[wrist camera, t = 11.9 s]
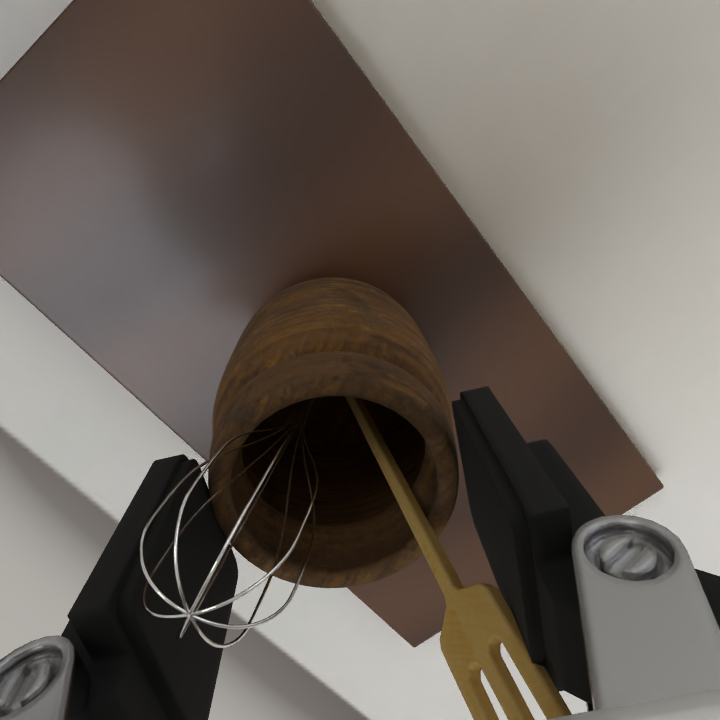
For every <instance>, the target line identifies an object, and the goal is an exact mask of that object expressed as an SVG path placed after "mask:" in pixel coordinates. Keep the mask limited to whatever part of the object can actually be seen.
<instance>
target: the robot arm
mask: <svg viewBox="0 0 720 720" xmlns="http://www.w3.org/2000/svg"><path fill="white" fill-rule="evenodd" d="M452 409H453V415H454V421H455V426H456V432H457V438H458V443H459V449H460V454H461V460H462V466H463V471H464V477H465V483H466V488H467V494H468V500H469V505H470V511H471V515H472V519H473V522H474V526H475V528H476V531H477V534H478V536H479V539H480V541H481V544H482V546H483V549H484V552H485V554H486V557H487V559H488V562H489V564H490V567H491V570H492V572H493V575H494V577H495V580H496V582H497V585H498V588H499V590H500V593H501V595H502V596H503V598H504V600H505V601H506V603H507V604H508V606H509V608H510V609H511V611H512V613H513V615H514V618H515V620H516V623H517V625H518V628H519V631H520V633H521V636H522V638H523V641H524V643H525V646H526V648H527V651H528V653H529V656H530V658H531V661H532V664H533V663H534V664H537V665H540V666H544V668H545V669H546V671H547V673H548V674H549V676H550V678H551V680H552V681H553V683H554V685H555V686H556V688H557V690H558V692H559V691H563V690H564V691H566V692H568V693H570V694H572V695H574V696H576V697H578V698H580V699H582V700H584V701H585V702H586V706H587V712H583V713H578V714H573V715H568V716H563V717H558V718H553V719H548V720H720V576H717V575H713V574H710V573H707V572H704V571H701V570H698V569H694V566H693V564H692V561H691V559H690V556H689V554H688V552H687V549H686V548H685V546H684V545H683V543H682V542H681V540H680V539H679V537H677V536H676V535H675V534H674V533H672V532H671V531H670V530H669V529H667V528H666V527H664V526H662V525H660V524H658V523H656V522H654V521H652V520H648V519H644V518H640V517H637V516H628V515H611V516H605V514H604V513H603V512H602V510H601V509H600V508H599V506H598V505H597V504H596V502H595V501H594V500H593V498H592V497H591V496H590V494H589V493H588V492H587V490H586V489H585V488H584V487H583V485H582V484H581V483H580V481H579V480H578V479H577V477H576V476H575V475H574V473H573V472H572V471H571V469H570V468H569V467H568V465H567V464H566V463H565V461H564V460H563V459H562V458H561V456H560V455H559V454H558V452H557V451H556V450H555V448H554V447H553V446H552V444H551V443H550V442H549V441H548V440H546V439H542V440H538V441H533V442H529V443H526V441H525V440H524V439H523V437H522V436H521V434H520V433H519V431H518V430H517V428H516V427H515V425H514V424H513V422H512V421H511V419H510V418H509V416H508V415H507V413H506V412H505V410H504V409H503V407H502V406H501V404H500V403H499V402H498V400H497V399H496V397H495V396H494V394H493V393H492V391H491V390H490V388H489V387H488V386H485V387H481V388H477V389H472V390H468V391H463V392H460V400H455V401H452ZM197 466H199V464H198V462H197V461H196V460H195V459H191V460H189V459H188V458H187V457H186V456H185V455H184V454H182V455H178V456H173V457H169V458H164V459H160V460H155V461H154V463H153V464H152V466H151V468H150V469H149V471H148V473H147V475H146V476H145V478H144V480H143V482H142V484H141V485H140V487H139V489H138V491H137V493H136V494H135V496H134V498H133V500H132V501H131V503H130V505H129V507H128V509H127V510H126V512H125V514H124V516H123V517H122V519H121V521H120V523H119V525H118V526H117V528H116V530H115V532H114V534H113V535H112V537H111V539H110V541H109V543H108V544H107V546H106V548H105V550H104V551H103V553H102V555H101V557H100V559H99V560H98V562H97V564H96V566H95V568H94V569H93V571H92V573H91V575H90V576H89V578H88V580H87V582H86V584H85V585H84V587H83V589H82V591H81V593H80V594H79V596H78V598H77V600H76V601H75V603H74V605H73V607H72V609H71V610H70V612H69V614H68V618H69V619H70V620H69V622H68V624H67V626H66V628H65V630H64V632H63V633H62V635H61V636H46V637H43V638H40V639H37V640H33V641H31V642H29V643H27V644H25V645H23V646H21V647H19V648H17V649H15V650H14V651H12V652H11V653H10V654H8V655H7V656H5V657H4V658H2V659H1V660H0V720H208V717H209V712H210V708H211V703H212V698H213V693H214V689H215V684H216V678H217V675H218V670H219V665H220V660H221V655H222V651H223V648H216V647H214V646H211V645H210V644H208V643H207V642H205V640H204V639H203V638H202V637H201V636H200V635H199V634H198V632H197V631H196V629H195V628H194V626H193V624H192V623H191V622H190V624H189V626H188V627H187V629H186V631H185V632H184V634H183V636H182V637H181V639H180V640H179V641H176V638H177V635H178V633H179V631H180V629H181V627H182V625H183V623H184V621H185V619H186V617H184V618H178V619H162V618H157V617H154V616H152V615H150V614H148V613H147V612H146V611H145V609H144V607H143V604H142V592H143V588H144V585H145V583H146V581H147V579H146V577H145V575H144V572H143V570H142V566H141V562H140V540H141V537H142V533H143V531H144V528H145V527H146V525H147V523H148V522H149V520H150V519H151V517H152V516H153V514H154V513H155V512H156V511H157V509H158V508H159V507H160V505H161V504H162V503H163V501H164V500H165V499H166V498H167V496H168V495H169V494H170V493H171V491H172V490H173V489H174V488H175V487H176V486H177V485H178V483H179V482H180V481H181V480H182V479H183V478H184V477H185V476H186V475H187V474H189V473H190V472H191V471H192V470H193V469H195V468H196V467H197ZM201 472H202V471H201V469H200V468H199V469H198V470H196V471H195V472H194V473H193V474H191V475H190V476H189V477H188V478H187V479H186V480H185V481H184V482H183V483H182V484H181V485H180V487H179V488H178V489H177V490H176V491H175V492H174V494H173V495H172V496H171V497H170V499H169V500H168V501H167V503H166V504H165V505H164V506H163V508H162V509H161V510H160V512H159V513H158V514H157V516H156V517H155V518H154V520H153V522H152V523H151V525H150V526H149V528H148V530H147V532H146V535H145V539H144V545H143V556H144V562H145V566H146V569H147V572H148V574H149V576H150V574H151V572H152V570H153V569H154V567H155V566H156V564H157V563H158V561H159V560H160V558H161V557H162V556H163V554H164V553H165V551H166V550H167V548H168V547H169V546H170V544H171V543H172V541H173V540H174V538H175V530H176V524H177V519H178V515H179V512H180V508H181V505H182V503H183V500H184V498H185V496H186V494H187V492H188V491H189V489H190V488H191V486H192V484H193V483H194V481H195V480H196V479H197V477H198V476H199V475H200V473H201ZM209 499H210V496H209V489H208V487H207V484H206V482H205V479H204V477H203V476H202V477H201V479H200V480H199V481H198V483H197V484H196V486H195V487H194V489H193V491H192V492H191V494H190V495H189V497H188V500H187V502H186V505H185V507H184V510H183V514H182V518H181V523H180V528H179V532H180V531H181V529H182V528H183V527H184V525H185V524H186V523H187V522H188V521H189V519H190V518H191V517H192V516H193V515H194V514H195V513H196V512H197V511H198V510H199V508H200V507H201V506H202V505H203V504H205V503H206V502H207V501H208V500H209ZM226 541H227V538H226V537H225V535H224V533H223V532H222V530H221V528H220V526H219V524H218V522H217V520H216V517H215V515H214V512H213V509H212V506H211V502H209V503H208V504H207V505H206V506H205V507H204V508H203V509H202V510H201V511H200V512H199V513H198V514H197V515H196V517H195V518H194V519H193V520H192V521H191V522H190V524H189V525H188V526H187V527H186V528H185V530H184V531H183V532H182V534H181V535H180V536H179V538H178V568H179V575H180V580H181V585H182V589H183V593H184V596H185V599H186V602H187V604H188V607H189V609H191V607H192V605H193V603H194V601H195V599H196V597H197V595H198V593H199V591H200V590H201V588H202V586H203V584H204V582H205V580H206V578H207V576H208V574H209V572H210V571H211V569H212V567H213V565H214V563H215V561H216V559H217V557H218V556H219V554H220V552H221V550H222V548H223V546H224V545H225V543H226ZM229 547H230V544H229V545H228V547H227V548H226V550H225V552H224V554H223V556H222V558H221V560H220V562H219V563H218V565H217V567H216V569H215V571H214V573H213V575H214V574H215V572H216V570H217V568H218V566H219V565H220V563H221V561H222V559H223V558H224V556H225V554H226V552H227V550H228V549H229ZM213 575H212V577H213ZM212 577H211V578H210V580H209V582H210V581H211V579H212ZM151 579H152V581H153V583H154V584H155V585H156V587H157V588H158V589H159V590H160V591H161V592H162V593H163V594H164V595H165V596H166V597H167V598H168V599H170V600H171V601H172V602H174V603H175V604H176V605H178V606H180V607H181V608H183V609H185V608H184V605H183V603H182V600H181V596H180V593H179V590H178V585H177V581H176V575H175V568H174V545H173V546H172V548H171V549H170V551H169V552H168V553H167V555H166V556H165V558H164V559H163V561H162V562H161V564H160V565H159V567H158V568H157V570H156V571H155V573H154V575H153V576H152V578H151ZM237 580H238V567H237V562H236V559H235V556H234V554H233V551H232V549H231V550H230V552H229V554H228V556H227V558H226V559H225V561H224V563H223V565H222V567H221V568H220V570H219V572H218V574H217V576H216V577H215V579H214V581H213V583H212V585H211V586H210V588H209V590H208V592H207V593H206V595H205V597H204V599H203V601H202V602H201V604H200V606H199V608H198V610H202V609H206V608H209V607H212V606H215V605H217V604H219V603H222V602H224V601H226V600H228V599H230V598H232V597H234V594H235V589H236V585H237ZM209 582H208V584H209ZM208 584H207V586H208ZM207 586H206V588H207ZM206 588H205V589H206ZM204 591H205V590H204ZM203 593H204V592H203ZM202 595H203V594H202ZM199 600H200V599H199ZM145 601H146V604H147V606H148V608H149V609H150V610H151V611H153V612H154V613H158V614H162V615H178V614H183V613H182V612H180V611H178V610H176V609H175V608H173V607H172V606H171V605H169V604H168V603H167V602H165V601H164V600H163V599H162V598H161V597H160V596H159V595H158V594H157V593H156V592H155V591H154V589H153V588H152V587H151V586H150V584H148V586H147V589H146V594H145ZM198 602H199V601H198ZM197 604H198V603H197ZM232 604H233V602H231V603H229V604H227V605H225V606H222V607H220V608H217V609H215V610H212V611H209V612H206V613H203V614H198V615H197V616H199V617H201V618H204V619H206V620H210V621H213V622H216V623H222V624H227V625H228V622H229V617H230V613H231V608H232ZM198 610H197V611H198ZM195 621H196V623H197V625H198V627H199V628H200V629H201V631H202V632H203V634H204V635H205V636H206V637H207V638H208V639H210V640H211V641H213V642H215V643H217V644H224V641H225V636H226V631H227V629H226V628H221V627H215V626H212V625H209V624H205V623H202V622H200V621H198V620H195Z"/></svg>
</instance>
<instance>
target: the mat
mask: <svg viewBox="0 0 720 720" xmlns="http://www.w3.org/2000/svg"><path fill="white" fill-rule="evenodd" d="M0 276H1V277H3V278H4V279H5V280H6V281H7V282H8V283H9V284H10V285H11V286H13V287H14V288H15V289H16V290H17V291H18V292H19V293H20V294H21V295H23V296H24V297H25V298H26V299H27V300H28V301H29V302H30V303H31V304H33V305H34V306H35V307H36V308H37V309H38V310H39V311H40V312H41V313H43V314H44V315H45V316H46V317H47V318H48V319H49V320H50V321H51V322H53V323H54V324H55V325H56V326H57V327H58V328H59V329H60V330H61V331H63V332H64V333H65V334H66V335H67V336H68V337H69V338H70V339H71V340H73V341H74V342H75V343H76V344H77V345H78V346H79V347H80V348H81V349H83V350H84V351H85V352H86V353H87V354H88V355H89V356H90V357H91V358H93V359H94V360H95V361H96V362H97V363H98V364H99V365H100V366H101V367H103V368H104V369H105V370H106V371H107V372H108V373H109V374H110V375H111V376H113V377H114V378H115V379H116V380H117V381H118V382H119V383H120V384H122V385H123V386H124V387H125V388H126V389H127V390H128V391H129V392H130V393H132V394H133V395H134V396H135V397H136V398H137V399H138V400H139V401H140V402H142V403H143V404H144V405H145V406H146V407H147V408H148V409H149V410H150V411H152V412H153V413H154V414H155V415H156V416H157V417H158V418H159V419H160V420H162V421H163V422H164V423H165V424H166V425H167V426H168V427H169V428H170V429H172V430H173V431H174V432H175V433H176V434H177V435H178V436H179V437H180V438H182V439H183V440H184V441H185V442H186V443H187V444H188V445H189V446H190V447H192V448H193V449H194V450H195V451H196V452H197V453H198V454H199V455H200V456H202V457H203V458H204V459H205V460H206V461H207V460H209V455H210V448H211V443H212V439H213V435H212V416H213V408H214V402H215V397H216V394H217V390H218V387H219V384H220V381H221V378H222V376H223V373H224V371H225V368H226V366H227V363H228V361H229V359H230V357H231V355H232V353H233V351H234V349H235V346H236V344H237V342H238V340H239V338H240V337H241V335H242V333H243V331H244V329H245V328H246V326H247V325H248V323H249V321H250V320H251V319H252V317H253V316H254V315H255V314H256V312H257V311H258V310H259V309H260V308H261V307H262V306H263V305H264V304H265V303H266V302H267V301H269V300H270V299H271V298H272V297H274V296H275V295H277V294H278V293H280V292H281V291H283V290H285V289H286V288H288V287H291V286H293V285H295V284H298V283H301V282H304V281H308V280H312V279H317V278H329V277H336V278H347V279H352V280H357V281H360V282H364V283H366V284H369V285H372V286H374V287H376V288H378V289H380V290H381V291H383V292H385V293H386V294H388V295H389V296H391V297H392V298H393V299H394V300H396V301H397V302H398V303H399V304H400V305H401V306H402V307H403V308H404V309H405V310H406V311H407V312H408V313H409V314H410V316H411V317H412V318H413V320H414V321H415V323H416V324H417V325H418V327H419V329H420V330H421V332H422V334H423V336H424V337H425V339H426V341H427V343H428V345H429V347H430V349H431V351H432V353H433V355H434V357H435V359H436V361H437V363H438V365H439V367H440V369H441V372H442V374H443V377H444V379H445V382H446V385H447V388H448V392H449V395H450V400H451V405H452V401H455V400H460V392H463V391H468V390H472V389H477V388H481V387H485V386H488V387H489V388H490V390H491V391H492V393H493V394H494V396H495V397H496V399H497V400H498V402H499V403H500V404H501V406H502V407H503V409H504V410H505V412H506V413H507V415H508V416H509V418H510V419H511V421H512V422H513V424H514V425H515V427H516V428H517V430H518V431H519V433H520V434H521V436H522V437H523V439H524V440H525V441H526V443H529V442H533V441H538V440H542V439H546V440H548V441H549V442H550V443H551V444H552V446H553V447H554V448H555V450H556V451H557V452H558V454H559V455H560V456H561V458H562V459H563V460H564V461H565V463H566V464H567V465H568V467H569V468H570V469H571V471H572V472H573V473H574V475H575V476H576V477H577V479H578V480H579V481H580V483H581V484H582V485H583V487H584V488H585V489H586V490H587V492H588V493H589V494H590V496H591V497H592V498H593V500H594V501H595V502H596V504H597V505H598V506H599V508H600V509H601V510H602V512H603V513H604V514H605V516H611V515H622V514H623V513H625V512H627V511H628V510H630V509H631V508H633V507H634V506H636V505H637V504H639V503H641V502H642V501H644V500H645V499H647V498H648V497H650V496H651V495H653V494H655V493H656V492H658V491H659V490H661V489H662V488H663V487H664V486H663V484H662V483H661V481H660V480H659V479H658V477H657V476H656V474H655V473H654V472H653V470H652V469H651V468H650V466H649V465H648V463H647V462H646V461H645V459H644V458H643V457H642V455H641V454H640V452H639V451H638V450H637V448H636V447H635V446H634V444H633V443H632V441H631V440H630V439H629V437H628V436H627V435H626V433H625V432H624V430H623V429H622V428H621V426H620V425H619V424H618V422H617V421H616V419H615V418H614V417H613V415H612V414H611V413H610V411H609V410H608V408H607V407H606V406H605V404H604V403H603V402H602V400H601V399H600V397H599V396H598V395H597V393H596V392H595V391H594V389H593V388H592V386H591V385H590V384H589V382H588V381H587V380H586V378H585V377H584V375H583V374H582V373H581V371H580V370H579V369H578V367H577V366H576V364H575V363H574V362H573V360H572V359H571V358H570V356H569V355H568V353H567V352H566V351H565V349H564V348H563V347H562V345H561V344H560V342H559V341H558V340H557V338H556V337H555V336H554V334H553V333H552V331H551V330H550V329H549V327H548V326H547V325H546V323H545V322H544V320H543V319H542V318H541V316H540V315H539V314H538V312H537V311H536V309H535V308H534V307H533V305H532V304H531V303H530V301H529V300H528V298H527V297H526V296H525V294H524V293H523V292H522V290H521V289H520V287H519V286H518V285H517V283H516V282H515V280H514V279H513V278H512V276H511V275H510V274H509V272H508V271H507V269H506V268H505V267H504V265H503V264H502V263H501V261H500V260H499V258H498V257H497V256H496V254H495V253H494V252H493V250H492V249H491V247H490V246H489V245H488V243H487V242H486V241H485V239H484V238H483V236H482V235H481V234H480V232H479V231H478V230H477V228H476V227H475V225H474V224H473V223H472V221H471V220H470V219H469V217H468V216H467V214H466V213H465V212H464V210H463V209H462V208H461V206H460V205H459V203H458V202H457V201H456V199H455V198H454V197H453V195H452V194H451V192H450V191H449V190H448V188H447V187H446V186H445V184H444V183H443V181H442V180H441V179H440V177H439V176H438V175H437V173H436V172H435V170H434V169H433V168H432V166H431V165H430V164H429V162H428V161H427V159H426V158H425V157H424V155H423V154H422V153H421V151H420V150H419V148H418V147H417V146H416V144H415V143H414V142H413V140H412V139H411V137H410V136H409V135H408V133H407V132H406V131H405V129H404V128H403V126H402V125H401V124H400V122H399V121H398V120H397V118H396V117H395V115H394V114H393V113H392V111H391V110H390V109H389V107H388V106H387V104H386V103H385V102H384V100H383V99H382V98H381V96H380V95H379V93H378V92H377V91H376V89H375V88H374V87H373V85H372V84H371V82H370V81H369V80H368V78H367V77H366V76H365V74H364V73H363V71H362V70H361V69H360V67H359V66H358V65H357V63H356V62H355V60H354V59H353V58H352V56H351V55H350V54H349V52H348V51H347V49H346V48H345V47H344V45H343V44H342V43H341V41H340V40H339V38H338V37H337V36H336V34H335V33H334V32H333V30H332V29H331V27H330V26H329V25H328V23H327V22H326V21H325V19H324V18H323V16H322V15H321V14H320V12H319V11H318V10H317V8H316V7H315V5H314V4H313V3H312V1H311V0H73V1H72V2H71V3H70V4H69V6H68V7H67V8H66V9H65V10H64V11H63V12H62V13H61V14H60V15H59V16H58V18H57V19H56V20H55V21H54V22H53V23H52V24H51V25H50V26H49V27H48V29H47V30H46V31H45V32H44V33H43V34H42V35H41V36H40V37H39V38H38V40H37V41H36V42H35V43H34V44H33V45H32V46H31V47H30V48H29V49H28V51H27V52H26V53H25V54H24V55H23V56H22V57H21V58H20V59H19V60H18V62H17V63H16V64H15V65H14V66H13V67H12V68H11V69H10V70H9V71H8V73H7V74H6V75H5V76H4V77H3V78H2V79H1V80H0ZM452 413H453V409H452ZM453 434H454V437H455V441H456V447H457V454H458V466H459V487H458V494H457V499H456V503H455V507H454V510H453V512H452V515H451V517H450V519H449V521H448V523H447V525H446V527H445V529H444V530H443V532H442V533H441V535H440V536H439V538H438V540H439V542H440V544H441V546H442V547H443V549H444V551H445V553H446V555H447V557H448V558H449V560H450V562H451V564H452V566H453V568H454V569H455V571H456V573H457V575H458V577H459V579H460V580H461V582H462V584H463V586H464V587H468V586H471V585H475V584H478V583H485V584H491V585H493V586H494V587H496V588H498V585H497V582H496V580H495V577H494V575H493V572H492V570H491V567H490V564H489V562H488V559H487V557H486V554H485V552H484V549H483V546H482V544H481V541H480V539H479V536H478V534H477V531H476V528H475V526H474V522H473V519H472V515H471V511H470V505H469V500H468V494H467V488H466V483H465V477H464V471H463V466H462V460H461V454H460V449H459V443H458V438H457V432H456V426H455V421H454V415H453ZM347 588H348V589H349V590H350V591H352V592H353V593H354V594H355V595H356V596H357V597H358V598H359V599H360V600H362V601H363V602H364V603H365V604H366V605H367V606H368V607H369V608H370V609H372V610H373V611H374V612H375V613H376V614H377V615H378V616H379V617H380V618H382V619H383V620H384V621H385V622H386V623H387V624H388V625H389V626H390V627H392V628H393V629H394V630H395V631H396V632H397V633H398V634H399V635H400V636H402V637H403V638H404V639H405V640H406V641H407V642H408V643H409V644H410V645H412V646H413V647H416V646H418V645H420V644H421V643H423V642H424V641H426V640H427V639H429V638H430V637H432V636H434V635H435V634H437V633H438V632H440V631H441V630H442V626H443V621H444V616H445V611H446V601H445V596H444V594H443V592H442V590H441V588H440V586H439V584H438V582H437V580H436V578H435V576H434V574H433V572H432V570H431V568H430V566H429V564H428V562H427V560H426V558H425V556H424V554H423V555H422V556H420V557H419V558H418V559H417V560H415V561H414V562H413V563H411V564H410V565H408V566H407V567H405V568H404V569H402V570H400V571H398V572H396V573H394V574H392V575H390V576H388V577H385V578H383V579H380V580H377V581H374V582H371V583H367V584H363V585H358V586H352V587H347ZM498 590H499V588H498ZM499 591H500V590H499Z"/></svg>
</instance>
